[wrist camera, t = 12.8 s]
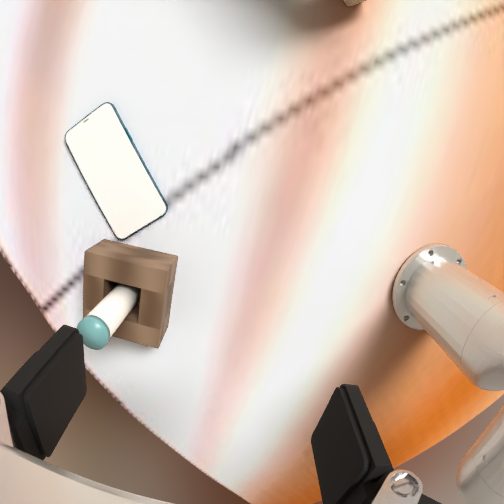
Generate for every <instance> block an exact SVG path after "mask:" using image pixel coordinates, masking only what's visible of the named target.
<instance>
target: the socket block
mask: <svg viewBox="0 0 504 504" xmlns="http://www.w3.org/2000/svg"><path fill="white" fill-rule="evenodd" d="M177 260H178V256H176V255H171V254H167V253H162V252H158V251H153V250H149V249H145V248H140V247H136V246H132V245H127V244H123V243H119V242H114V241H110V240H106V239H104V240H102V241H100V242H99V243H97V244H96V245H94V246H92V247H91V248H89V249H88V250H86V251H85V256H84V282H83V318H84V317H86V316H87V315H88V314H89V313H90V312H91V311H92V310H93V309H94V308H95V307H96V306H97V305H98V304H99V303H100V302H101V301H102V300H103V299H104V298H105V297H106V296H107V295H108V294H109V293H110V292H111V291H112V290H113V289H114V288H115V287H116V286H117V285H118V284H119V283H121V284H125V285H129V286H133V287H137V288H141V295H140V300H139V301H138V302H137V303H136V305H135V306H134V307H133V309H132V310H131V311H130V312H129V314H128V315H127V316H126V318H125V319H124V320H123V322H122V323H121V324H120V325H119V327H118V328H117V329H116V331H115V332H114V333H113V335H112V336H114V337H118V338H121V339H125V340H128V341H132V342H136V343H139V344H143V345H147V346H151V347H154V348H159V346H160V343H161V341H162V339H163V337H164V334H165V332H166V330H167V328H168V323H169V315H170V308H171V301H172V293H173V287H174V280H175V273H176V267H177Z"/></svg>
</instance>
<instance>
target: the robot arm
mask: <svg viewBox="0 0 504 504" xmlns="http://www.w3.org/2000/svg"><path fill="white" fill-rule="evenodd" d="M392 301H393V307H394V310H395V313H396V314H397V316H398V317H399V319H400V320H401V321H402V322H403V323H404V324H405V325H407V326H408V327H410V328H413V329H417V330H425V331H426V332H427V333H428V334H429V335H430V336H431V337H432V338H433V339H434V341H435V342H436V343H437V344H438V345H439V346H440V347H441V348H442V350H443V351H444V352H445V353H446V354H447V355H448V356H449V358H450V359H451V360H452V361H453V362H454V363H455V364H456V366H457V367H458V368H459V369H460V370H461V371H462V373H463V374H464V375H465V376H466V377H467V378H468V379H469V381H470V382H471V383H473V384H474V385H475V386H477V387H478V388H480V389H483V390H488V391H500V390H504V292H502V291H500V290H499V289H497V288H496V287H494V286H493V285H491V284H490V283H488V282H486V281H485V280H483V279H482V278H480V277H478V276H477V275H475V274H473V273H472V272H470V271H469V270H467V268H466V264H465V261H464V259H463V258H462V256H461V255H460V253H459V252H457V251H456V250H455V249H453V248H451V247H450V246H447V245H444V244H432V245H428V246H425V247H423V248H421V249H419V250H418V251H416V252H415V253H413V254H412V255H411V256H410V257H409V258H408V259H407V260H406V262H405V263H404V264H403V265H402V267H401V269H400V271H399V272H398V274H397V277H396V279H395V282H394V287H393V293H392ZM86 388H87V387H86V377H85V364H84V349H83V336H82V334H79V330H78V329H76V328H73V327H70V326H67V325H63V326H62V327H61V328H60V329H59V330H58V331H57V332H56V333H55V334H54V335H53V336H52V337H51V338H50V339H49V340H48V341H47V342H46V343H45V344H44V345H43V346H42V348H41V349H40V350H39V351H37V352H36V353H34V354H33V355H32V356H31V358H30V359H29V360H28V361H27V362H26V363H25V364H24V365H23V366H22V367H21V368H20V369H19V370H18V372H17V373H16V374H15V375H14V376H13V377H12V378H11V380H10V381H9V382H8V383H7V384H6V385H5V386H4V387H3V389H2V390H1V391H0V504H173V503H168V502H164V501H160V500H155V499H151V498H147V497H144V496H140V495H136V494H133V493H129V492H126V491H122V490H119V489H115V488H112V487H109V486H107V485H104V484H101V483H98V482H95V481H92V480H90V479H87V478H84V477H82V476H79V475H76V474H74V473H71V472H69V471H66V470H64V469H61V468H59V467H57V466H54V465H52V464H50V463H47V462H45V461H43V460H44V459H45V457H46V456H47V457H50V455H51V454H52V452H53V451H54V449H55V447H56V445H57V443H58V441H59V440H60V438H61V436H62V434H63V433H64V431H65V429H66V427H67V426H68V424H69V422H70V420H71V419H72V417H73V415H74V413H75V412H76V410H77V409H78V407H79V405H80V403H81V402H82V400H83V399H84V397H85V394H86ZM311 444H312V449H313V454H314V459H315V464H316V469H317V474H318V480H319V485H320V490H321V495H322V501H323V504H441V503H439V502H437V501H435V500H433V499H431V498H429V497H427V496H425V495H423V494H422V489H423V487H422V483H421V481H420V479H419V478H418V477H417V476H416V475H415V474H413V473H412V472H410V471H407V470H395V471H394V469H393V467H392V464H391V462H390V459H389V457H388V454H387V452H386V449H385V447H384V445H383V442H382V440H381V437H380V435H379V433H378V430H377V428H376V425H375V423H374V422H373V420H372V418H371V415H370V413H369V410H368V408H367V406H366V403H365V401H364V399H363V396H362V394H361V392H360V390H359V387H358V386H357V385H347V384H342V385H341V386H340V388H339V387H338V388H336V389H335V391H334V393H333V395H332V397H331V399H330V401H329V403H328V405H327V407H326V409H325V411H324V413H323V415H322V417H321V419H320V421H319V423H318V425H317V427H316V428H315V430H314V432H313V434H312V438H311ZM456 483H457V487H458V490H459V492H460V495H461V496H462V498H463V499H464V501H465V502H466V503H467V504H504V404H503V406H502V408H501V409H500V411H499V412H498V414H497V415H496V416H495V418H494V419H493V420H492V422H491V423H490V424H489V426H488V427H487V428H486V430H485V431H484V432H483V433H482V435H481V436H480V437H479V438H478V439H477V441H476V442H475V443H474V445H473V446H472V447H471V448H470V449H469V451H468V452H467V453H466V455H465V456H464V457H463V459H462V461H461V462H460V464H459V467H458V470H457V474H456Z"/></svg>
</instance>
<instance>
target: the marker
mask: <svg viewBox="0 0 504 504" xmlns="http://www.w3.org/2000/svg"><path fill="white" fill-rule="evenodd" d="M140 295H141V288H137V287H133V286H129V285H125V284H121V283H119V284H118V285H117V286H116V287H115V288H114V289H113V290H112V291H111V292H110V293H109V294H108V295H107V296H106V297H105V298H104V299H103V300H102V301H101V302H100V303H99V304H98V305H97V306H96V307H95V308H94V309H93V310H92V311H91V312H90V313H89V314H88V315H87V316H86V317H84V318H83V319H82V320H81V321H80V322H79V324H78V326H77V329H78V330H79V334H82V336H83V344H85V345H86V346H87V347H89V348H91V349H95V350H99V349H102V348H103V347H104V346H105V345H106V344H107V342H108V341H109V339H110V337H111V336H112V335H113V333H114V332H115V331H116V329H117V328H118V327H119V325H120V324H121V323H122V322H123V320H124V319H125V318H126V316H127V315H128V314H129V312H130V311H131V310H132V309H133V307H134V306H135V305H136V303H137V302H138V301H139V300H140Z"/></svg>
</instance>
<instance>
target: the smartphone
mask: <svg viewBox="0 0 504 504" xmlns="http://www.w3.org/2000/svg"><path fill="white" fill-rule="evenodd" d="M65 141H66V144H67V146H68V148H69V150H70V152H71V154H72V156H73V158H74V160H75V162H76V164H77V166H78V168H79V170H80V172H81V174H82V176H83V178H84V180H85V182H86V184H87V186H88V188H89V189H90V191H91V193H92V195H93V197H94V199H95V201H96V202H97V204H98V206H99V208H100V210H101V212H102V213H103V215H104V217H105V219H106V220H107V222H108V224H109V226H110V227H111V229H112V231H113V233H114V234H115V236H116V237H117V238H118V239H122V240H123V239H126V238H127V237H129V236H131V235H132V234H134V233H135V232H137V231H139V230H140V229H142V228H144V227H145V226H147V225H148V224H150V223H152V222H153V221H155V220H157V219H158V218H160V217H162V216H163V215H165V214H166V213H167V210H168V205H167V203H166V201H165V199H164V197H163V196H162V194H161V192H160V190H159V189H158V187H157V185H156V183H155V181H154V180H153V178H152V176H151V174H150V172H149V170H148V169H147V167H146V165H145V163H144V161H143V159H142V158H141V156H140V154H139V152H138V150H137V148H136V146H135V144H134V143H133V140H132V138H131V136H130V134H129V132H128V130H127V129H126V127H125V125H124V124H123V122H122V120H121V118H120V116H119V114H118V112H117V110H116V108H115V106H114V105H113V104H112V103H108V102H106V103H103V104H102V105H101V106H99V107H98V108H96V109H95V110H94V111H92V112H91V113H90V114H89V115H87V116H86V117H85V118H83V119H82V120H81V121H80V122H78V123H77V124H76V125H75V126H73V127H72V128H71V129H70V130H68V131H67V133H66V135H65Z"/></svg>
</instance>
